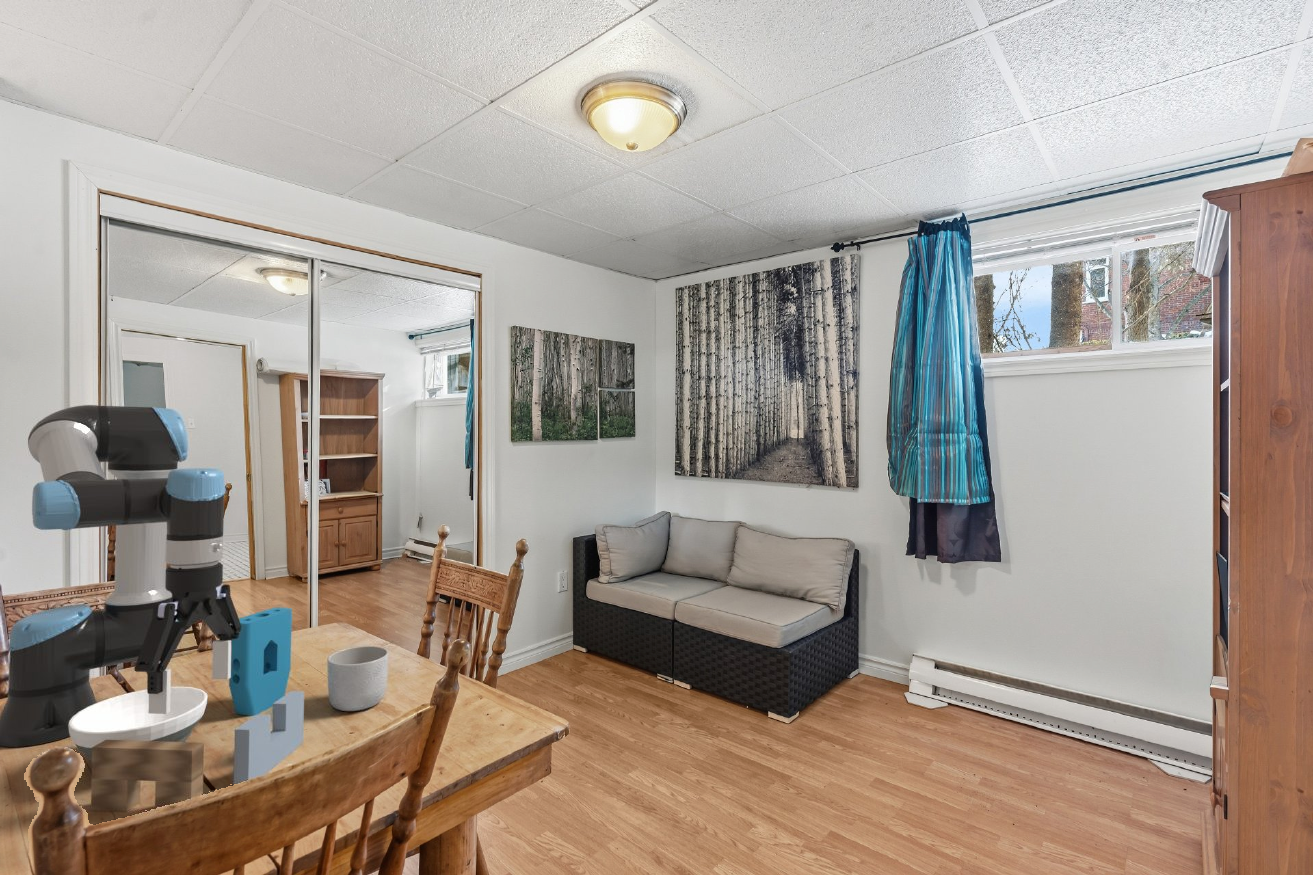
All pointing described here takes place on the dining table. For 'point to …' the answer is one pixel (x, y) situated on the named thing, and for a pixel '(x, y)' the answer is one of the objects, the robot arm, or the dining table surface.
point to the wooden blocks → (144, 772)
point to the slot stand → (268, 738)
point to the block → (261, 660)
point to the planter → (357, 677)
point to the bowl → (137, 719)
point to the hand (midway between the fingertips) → (192, 694)
